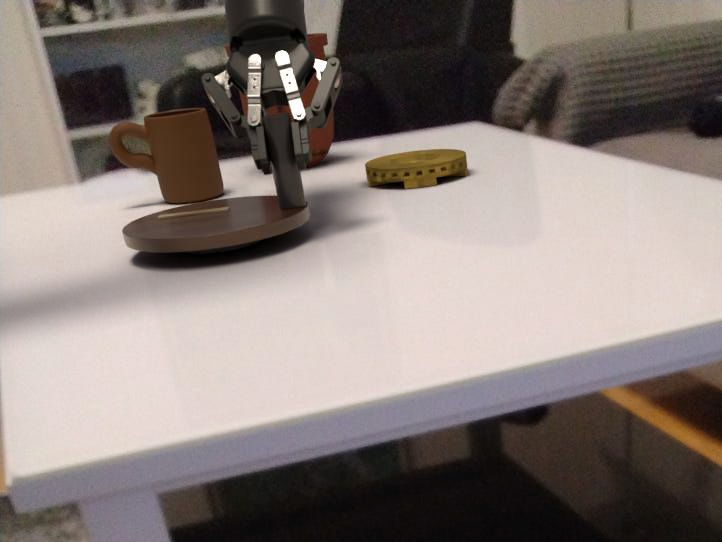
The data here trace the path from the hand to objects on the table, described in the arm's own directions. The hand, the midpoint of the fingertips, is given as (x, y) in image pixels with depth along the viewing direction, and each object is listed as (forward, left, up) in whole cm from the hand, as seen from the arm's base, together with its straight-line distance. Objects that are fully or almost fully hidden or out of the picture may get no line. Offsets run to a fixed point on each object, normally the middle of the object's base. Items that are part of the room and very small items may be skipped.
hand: (283, 166), depth 95 cm
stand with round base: (-8, +1, -7) cm, 10 cm away
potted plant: (-8, +45, -7) cm, 46 cm away
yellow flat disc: (+9, +28, -7) cm, 30 cm away
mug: (-21, +29, -7) cm, 36 cm away
